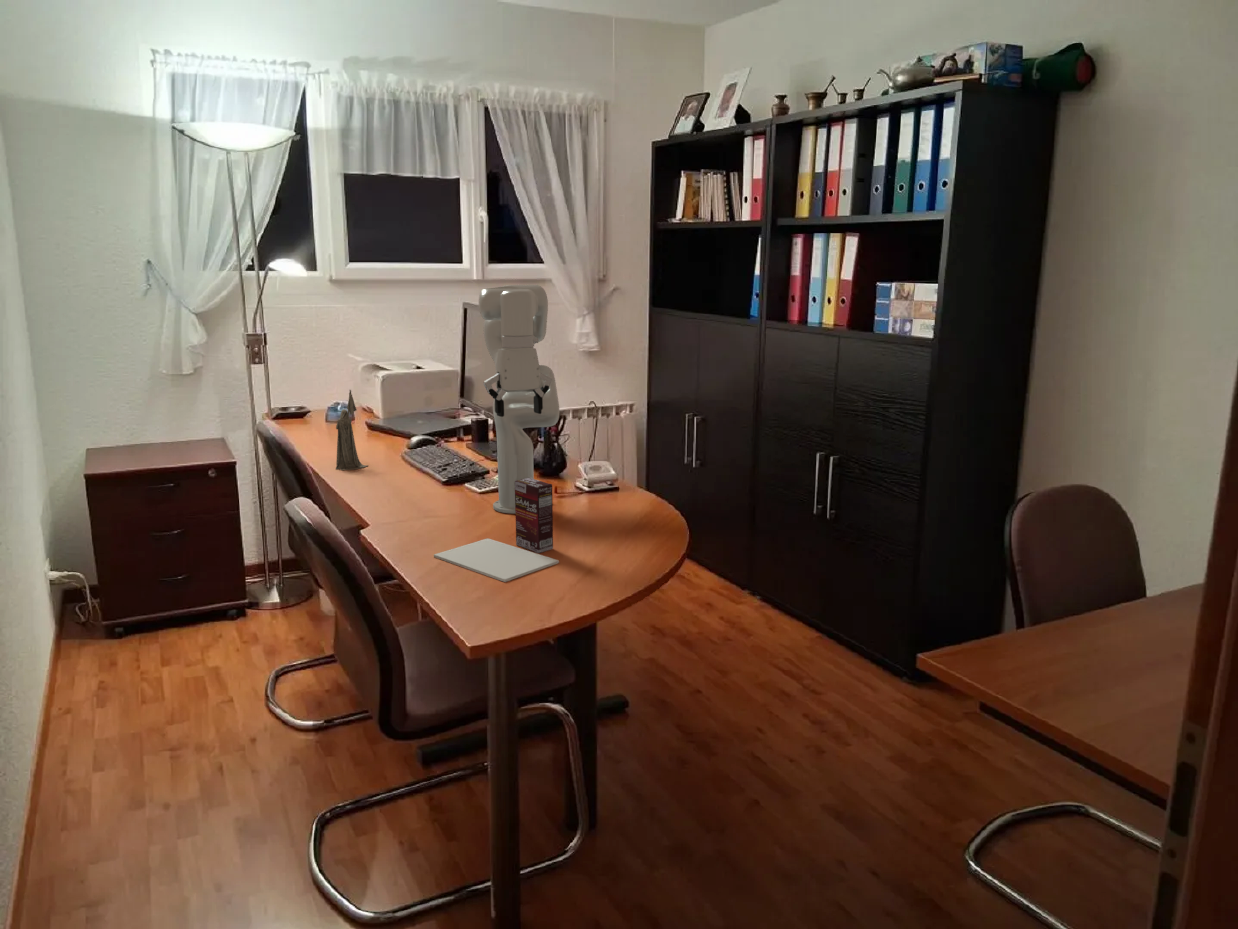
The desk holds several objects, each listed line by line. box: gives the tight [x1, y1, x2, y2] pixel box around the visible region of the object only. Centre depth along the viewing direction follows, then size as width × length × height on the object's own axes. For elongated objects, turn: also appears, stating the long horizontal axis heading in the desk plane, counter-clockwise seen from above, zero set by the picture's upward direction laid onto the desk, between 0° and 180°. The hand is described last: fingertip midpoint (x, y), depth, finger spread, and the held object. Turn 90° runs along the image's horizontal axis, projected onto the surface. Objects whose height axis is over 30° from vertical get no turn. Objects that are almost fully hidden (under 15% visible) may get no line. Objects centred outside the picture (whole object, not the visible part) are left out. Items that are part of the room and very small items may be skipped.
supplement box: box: [515, 478, 554, 554], centre depth 209 cm, size 9×5×16 cm, turn 45°
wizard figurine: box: [335, 389, 368, 471], centre depth 286 cm, size 10×8×25 cm
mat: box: [433, 537, 560, 583], centre depth 202 cm, size 16×24×1 cm, turn 49°
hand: (519, 414), depth 216 cm, fingers open, 9 cm apart
